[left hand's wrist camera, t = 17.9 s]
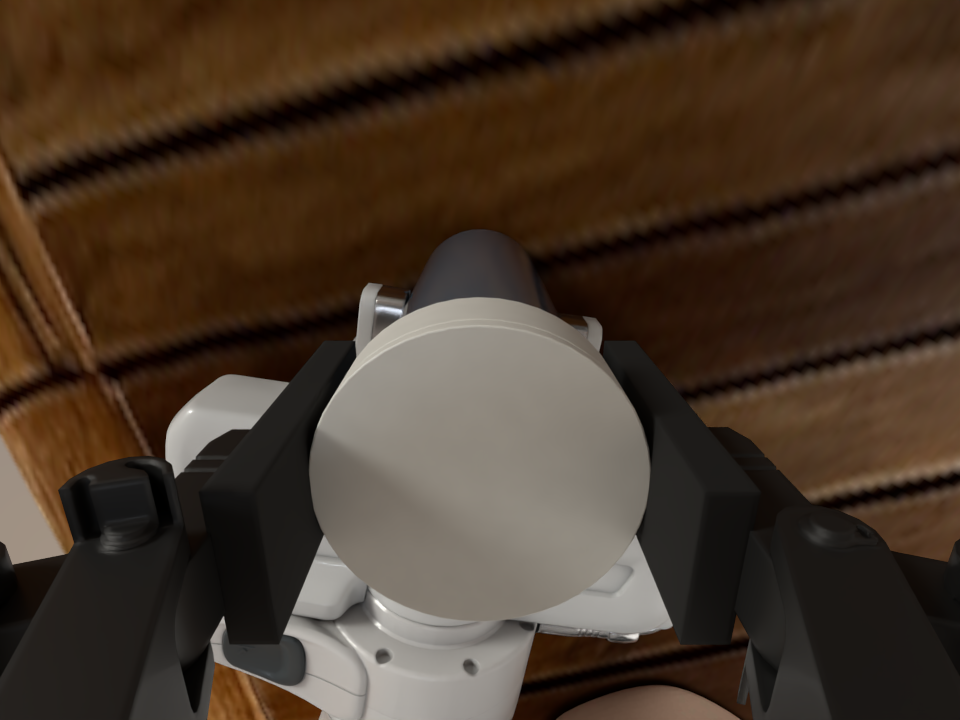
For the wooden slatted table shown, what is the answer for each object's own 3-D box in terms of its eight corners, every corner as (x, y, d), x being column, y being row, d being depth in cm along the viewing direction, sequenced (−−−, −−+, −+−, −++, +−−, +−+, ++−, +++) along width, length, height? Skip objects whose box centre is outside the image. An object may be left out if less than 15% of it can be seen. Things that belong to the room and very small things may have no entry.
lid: (318, 298, 11) (285, 327, 9) (637, 294, 11) (669, 322, 9) (349, 557, 13) (327, 624, 11) (615, 554, 13) (636, 620, 11)
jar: (544, 233, 24) (638, 347, 10) (531, 347, 26) (595, 584, 12) (423, 224, 24) (340, 326, 10) (419, 339, 26) (343, 570, 12)
